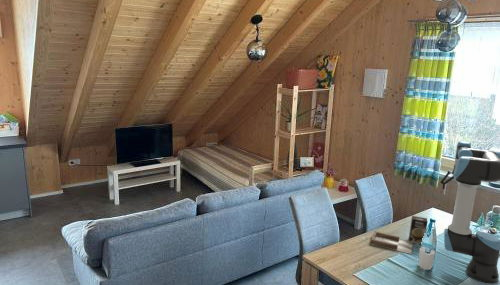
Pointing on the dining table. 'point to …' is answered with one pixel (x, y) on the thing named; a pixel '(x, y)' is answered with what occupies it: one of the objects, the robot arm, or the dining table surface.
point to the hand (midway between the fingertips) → (455, 196)
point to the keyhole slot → (391, 242)
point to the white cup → (426, 259)
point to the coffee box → (417, 229)
